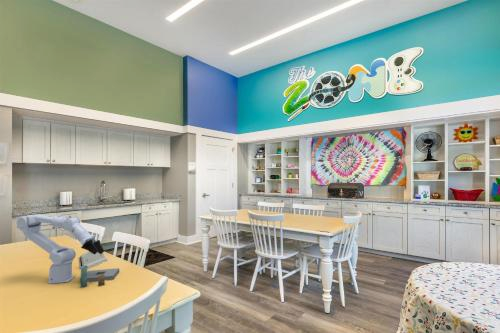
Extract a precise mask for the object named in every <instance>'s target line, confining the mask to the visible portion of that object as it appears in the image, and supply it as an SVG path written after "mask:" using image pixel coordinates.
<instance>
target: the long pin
mask: <svg viewBox="0 0 500 333" xmlns="http://www.w3.org/2000/svg"><path fill="white" fill-rule="evenodd" d="M87 272H88V269H87V266H81V269H80V278H81V283H80V288H81V289H84V288H87V287H88V282H87Z"/></svg>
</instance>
